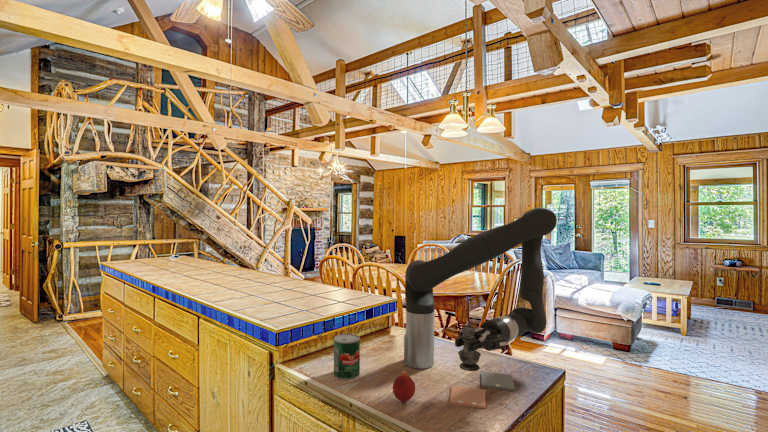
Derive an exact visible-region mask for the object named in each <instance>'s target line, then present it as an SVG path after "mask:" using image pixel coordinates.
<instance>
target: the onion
mask: <svg viewBox="0 0 768 432" xmlns="http://www.w3.org/2000/svg"><path fill="white" fill-rule="evenodd" d="M392 392H393V394H394V397H395V399H397V400H398V401H400V402H401V403H408V401H410V400H411V399H412V398H413V397H414V395H415V393H416V384H415V382H414V380H413V379H412V378H411V377H410V376H409V375H408V372H407V371H406V370H405V371H404V370H403V371H402V373H401V374H400V375H399V376H397V377H396V378H395V380H394V381H393V384H392Z"/></svg>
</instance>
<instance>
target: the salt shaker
mask: <svg viewBox="0 0 768 432" xmlns="http://www.w3.org/2000/svg"><path fill="white" fill-rule="evenodd" d="M463 328H464V338H463V341H464V345H463V347H462V349H461V350H459V351H458V356H459V359H460V361H461V363H460V364H459V366H458V367H459V368H460V369H461V370H463V371H467V372H477V371H478V370H480V368H481V367H480V366H479V364H477V363H478V362H479V361H480V358H481V355H482V354H481V352H480V351H477V350H474V351H472V352H470V351H468V344H469V342H472V341H475V340H476V339H475V329H476V328H475V327H474V326H473V325H471V321H469V322H468V324H466V325H465V326H463Z"/></svg>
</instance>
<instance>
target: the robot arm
mask: <svg viewBox="0 0 768 432" xmlns="http://www.w3.org/2000/svg"><path fill="white" fill-rule="evenodd" d="M557 222H558V221H557V215H556V214H555V212H554V211H553V210H551V209H550V208H547V207H542V206H541V207H535V208H533V209H529V210H528V211H526V212H524V213H523V214H522V216H521V217H519V218H517V219H515V220H514V221H511V222H509V223H506V224H504V225H500V226H496V227H494V228H490V229H487V230H484V231H482V232H480V233H478V234H475V235H473V236H471V237H468V238H467V239H464V240H463V241H462V242H460V243H458V244H457V245H456V246H455V247H453V248H452V249H451V250H449V251H448V252H446V253H445V254H443V255H441V256H438V257H436V258H434V259H430V260H428V261H425V260H421V259H416V260H413V261H411V262H410V263H409V264H408V266H407V267H406V269H405V275H404V276H405V280H404V281H405V282H404V284H405V285H404V286H405V288H404V292H405V295H404V296H405V333H404V334H403V335H404V336H403V338H404V339H403V365H404V366H407V367H409V368H412V369H413V368H414V369H419V370H420V369H421V370H423V369H428V368H431V367H433V366H434V363H435V310H436V309H435V307H436V306H435V300H434V288H435V287H437V286H438V285H440V284H442V283H444V282H445V281H447V280H448V279H451V278H452V277H454V276H456V275H458V274H462V273H465V272H467V271H469V270H472V269H474V268H476V267H478V266H480V265H481V266H482V265H483V264H485V263H487V262H488V263H489V262H490V261H492V260H494V259H496V258H498V257H500V256H502V255H503V254H506V253H507V252H510V250H512V249H514V248H516V247H517V246H519V245H521V268H520V269H521V270H520V271H521V272H520V278H519V291H518V292H519V294H518V296H519V298H520V299H521V300H524V301H525V302H528V303H529V305H530V308H527V307H523V306H519V307H514V308H513V309H512V310H511V311H510V312H509V313H508V314H505V315H502V316H497V317H494V318H492V319H488V320H486V321H484V322H483V323H481V324H480V327H478V328H475V339H476V340H475V341H472V342H469V344H468V351H470V352H472V351H474V350H476V351H477V350H484V349H485V350H486V351H487V352H490V351H494V350H501V349H506V346H507V344H508V343H511V342H513V340H515V339H517V338H520V337H522V336H523V335H525V334H526V333H527V332H531V333H534V334H541V333H542V332H544V331H545V329H546V328H547V314H546V309H545V305H544V297H543V294H544V293H543V292H544V282H545V275H544V273H545V272H544V266H543V260H542V243H543V238H544V237H545V236H547V235H549V234H551V232H553V231H554V229H556V225H557ZM463 338H464V327H463V328H462V329H460V331H459V334H458V337H456V338H455V339H454V347H457V348H460V347H462V346H463V347H464V341H463Z"/></svg>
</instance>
